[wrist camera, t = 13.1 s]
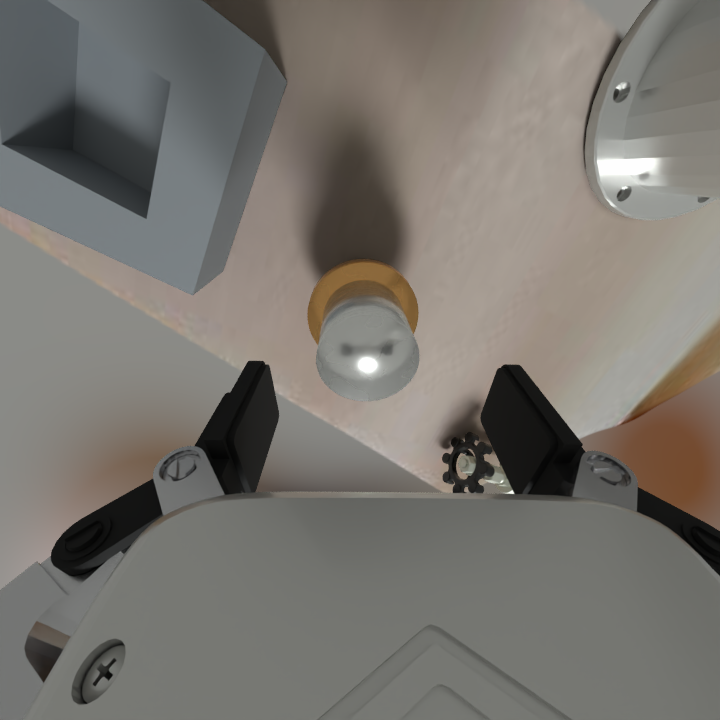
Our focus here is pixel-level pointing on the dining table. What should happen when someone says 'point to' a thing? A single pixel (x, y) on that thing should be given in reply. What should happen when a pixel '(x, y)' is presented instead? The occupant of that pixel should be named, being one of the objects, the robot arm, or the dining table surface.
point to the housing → (134, 128)
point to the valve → (473, 467)
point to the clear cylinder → (364, 329)
